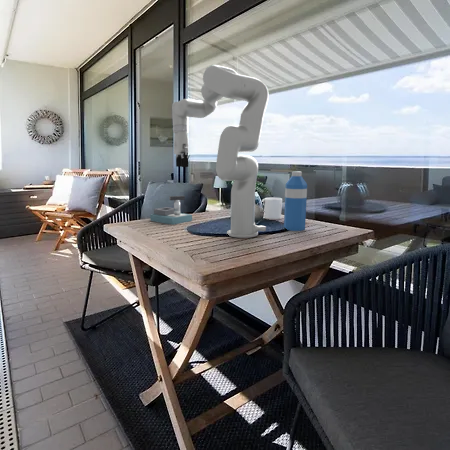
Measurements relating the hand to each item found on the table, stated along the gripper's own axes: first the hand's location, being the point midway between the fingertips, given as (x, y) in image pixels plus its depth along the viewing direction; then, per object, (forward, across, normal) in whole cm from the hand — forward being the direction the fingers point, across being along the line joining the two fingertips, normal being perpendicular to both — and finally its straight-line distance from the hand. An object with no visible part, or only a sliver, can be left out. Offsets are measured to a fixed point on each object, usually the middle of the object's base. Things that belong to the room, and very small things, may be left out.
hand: (182, 166), depth 163 cm
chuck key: (+23, +2, -4) cm, 23 cm away
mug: (+27, +10, +44) cm, 52 cm away
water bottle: (+27, +36, +40) cm, 60 cm away
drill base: (+26, -3, -6) cm, 27 cm away
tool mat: (+23, +2, -3) cm, 24 cm away
